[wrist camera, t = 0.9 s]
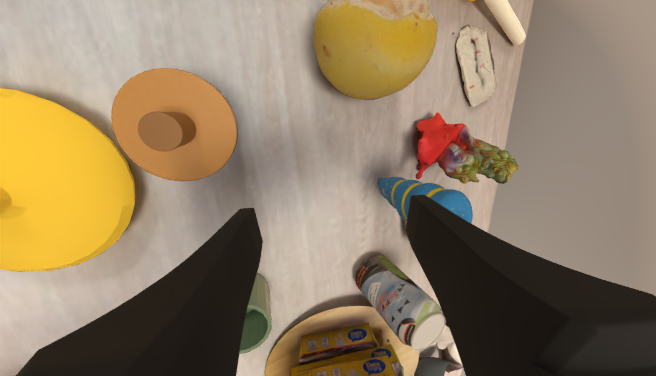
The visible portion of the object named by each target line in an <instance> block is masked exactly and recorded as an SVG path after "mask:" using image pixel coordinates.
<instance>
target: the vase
mask: <svg viewBox="0 0 656 376" xmlns="http://www.w3.org/2000/svg"><path fill="white" fill-rule="evenodd" d="M135 200H136V198H135V184H134V178H133V176H132V173H131V171H130V168H129V165H128V163H127V160H126V159H125V157H124V156H123V155H122V153H121V152H120V151H119V149H118V148H117V147H116V145H115V144H114V143H113V141H112V140H111V139H110V138H109V137H107V136H106V135H105V134H104V133H103V132H101V131H100V130H99V129H98V128H97V127H96V126H94V125H93V124H92V123H91V122H89V121H88V120H86V119H84V118H82V117H80V116H79V115H77V114H75V113H73V112H72V111H70V110H68V109H66V108H64V107H62V106H61V105H59V104H57V103H55V102H52V101H49V100H46V99H43V98H40V97H37V96H34V95H31V94H28V93H25V92H22V91H18V90H11V89H4V88H0V269H3V270H10V271H21V272H22V271H49V270H55V269H60V268H64V267H69V266H74V265H78V264H80V263H82V262H85V261H87V260H89V259H91V258H93V257H96V256H98V255H100V254H101V253H103V252H104V251H105V250H106V249H108V248H109V247H110V246H111V245H113V244H114V243H115V242H116V241H118V239H119V238H120V236H121V235H122V234H123V232H124V231H125V229H126V228H127V226H128V225H129V223H130V220H131V216H132V212H133V209H134V205H135Z"/></svg>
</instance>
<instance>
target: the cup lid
mask: <svg viewBox="0 0 656 376" xmlns="http://www.w3.org/2000/svg"><path fill="white" fill-rule="evenodd" d="M112 126H113V130H114V134H115V136H116V139H117V141H118V143H119V144H120V146H121V148H122V149H123V151H124V152H125V153H126V154H127V156H128V157H129V158H130V159H131V160H132V161H133V162H134V163H136V164H137V165H138V166H140V167H141V168H142V169H144V170H146V171H147V172H149V173H151V174H153V175H156V176H158V177H161V178H164V179H169V180H174V181H194V180H198V179H202V178H205V177H208V176H210V175H212V174H214V173H215V172H217V171H218V170H219V169H221V168H222V167H223V166H224V165H225V164H226V163H227V161H228V160H229V158H230V157H231V155H232V153H233V151H234V149H235V146H236V142H237V123H236V119H235V115H234V113H233V111H232V108H231V107H230V105H229V103H228V102H227V100H226V99H225V98H224V96H223V95H222V94H221V93H220V92H219V91H218V90H217V89H216V88H215V87H214V86H212V85H211V84H210V83H208V82H207V81H205V80H204V79H202V78H200V77H198V76H196V75H194V74H191V73H189V72H185V71H182V70H177V69H168V68H161V69H152V70H149V71H145V72H142V73H140V74H138V75H136V76H134V77H133V78H131V79H130V80H129V81H127V82H126V83H125V84H124V85H123V86H122V88H121V89H120V90H119V92H118V94H117V95H116V97H115V100H114V103H113V107H112Z"/></svg>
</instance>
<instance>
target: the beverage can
mask: <svg viewBox="0 0 656 376" xmlns="http://www.w3.org/2000/svg"><path fill="white" fill-rule="evenodd" d="M356 284H357V286H358V288H359V289H360V290H361V291H362V293H363V294H364V295H365V297H366V298H367V299H368V300H369V302H370V303H371V304H372V305H373V307H374V308H375V309H376V311H377V312H378V313H379V314H380V316H381V317H382V318H383V319H384V321H385V322H386V323H387V325H388V326H389V327H390V328H391V330H392V331H393V332H394V333H395V335H396V336H397V337H398V339H399V340H400V341H401V342H402V343H403V344H405V345H408V346H411V347H412V348H413V349H414V350H416V351H420V350H424V349H426V348H428V347H429V346H430V345H432V344H433V343H434V342H435V341H436V340H437V339H438V337H439V336H440V335H441V333H442V331H443V329H444V326H445V317H444V316H443V315H442V314H441V310H440V307H439V305H438V304H437V303H436V302H435V301H434V300H433V299H432V298H431V297H430V296H429V295H427V294H426V293H425V292H424V291H423V290H422V289H421V288H420V287H419V286H417V285H416V284H415V283H414V282H413V281H412V280H411V279H410V278H409V277H407V276H406V275H405V274H404V273H403V272H402V271H401V270H400V269H398V268H397V267H396V266H395V265H394V264H393V263H392V262H391V261H390V260H388V259H387V258H386V257H385V256H381V255H378V256H373V257H371V258H369V259H368V260H366V261H365V262H364V263H363V264H362V265H361V266H360V268H359V270H358V272H357V275H356Z"/></svg>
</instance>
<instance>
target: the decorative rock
mask: <svg viewBox="0 0 656 376" xmlns="http://www.w3.org/2000/svg"><path fill="white" fill-rule="evenodd" d="M445 325H446V326H447V327H449V326H448V323H447V321H446V324H445ZM442 359H443V360H447V361H451V363H450V364H449V365H448V366H447V367H446V369H445V371H446V372H448V373H449V372H451V371H454V370H459V369H461V368H462V367H463V365H461V364H460V363H458V362H457V361H455V360H454V359H453V358H452V357H451V355H450V354H449V351H448V348H447V347H446V348H445V349H443V350H442Z"/></svg>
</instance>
